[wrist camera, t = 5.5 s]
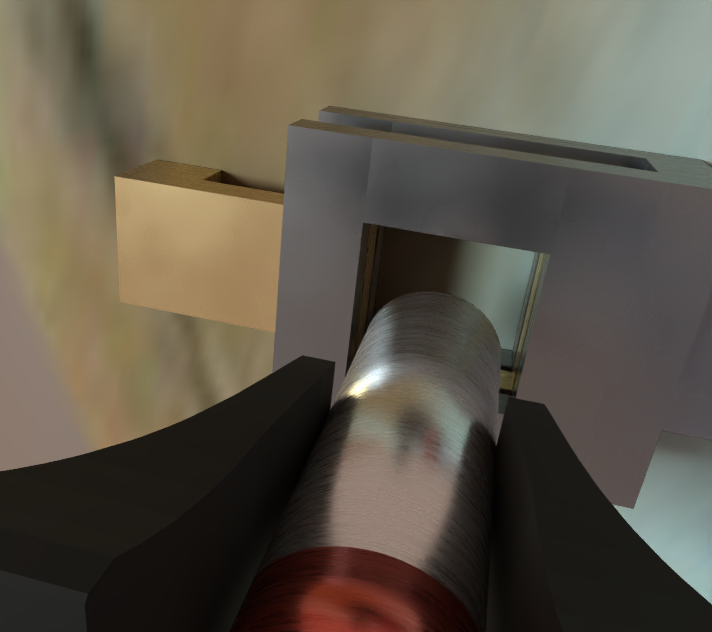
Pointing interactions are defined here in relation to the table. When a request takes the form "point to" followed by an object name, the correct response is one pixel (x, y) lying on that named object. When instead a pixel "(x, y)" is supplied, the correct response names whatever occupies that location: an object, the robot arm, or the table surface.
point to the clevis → (468, 222)
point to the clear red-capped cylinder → (394, 486)
